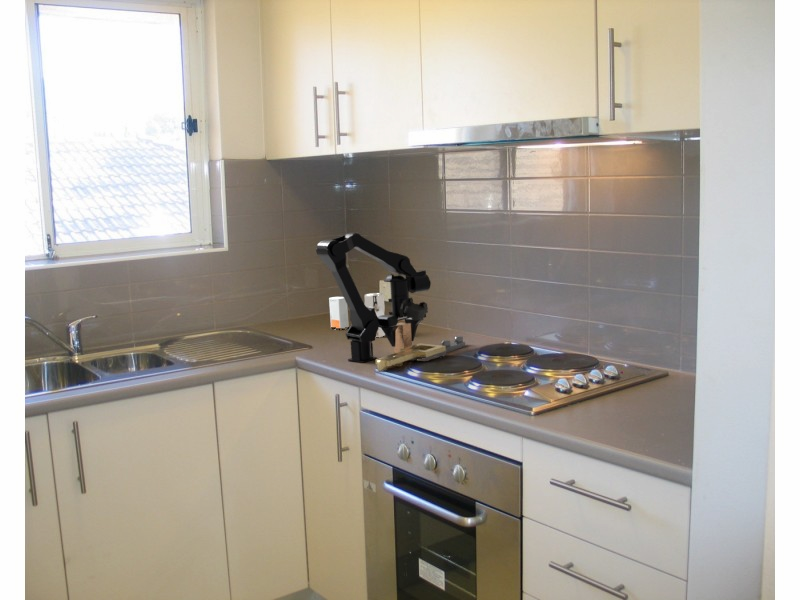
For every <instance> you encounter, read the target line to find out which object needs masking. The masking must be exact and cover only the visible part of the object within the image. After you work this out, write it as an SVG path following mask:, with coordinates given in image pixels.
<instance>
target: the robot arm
mask: <svg viewBox="0 0 800 600" xmlns="http://www.w3.org/2000/svg"><path fill="white" fill-rule="evenodd" d="M353 249H355V250H357V251H358V252H359V253H360V252H361V253H362V254H364V255H366V256H367V257H370V258H371V259H372V260H373V259H374V260H375V261H377V262H378V263H380V265H381V267H383V268H384V269H385V270H386V271H387V272H389V274H387V276H386V277H385V278H384V279H383V281H384V282H385V283H389V287H390V298H388V303H390V304H391V311H389V312H388V313H389V314H384V315H382V316H378V317H377V315H376V312H375V310H374V308H369V307H366V306H365V301H363V299H362V296H361V294H360V291H359V289H358V287H357V285H356V283H355V281H354V280H353V277H352V275H351V272H350V271H349V268H348V266H347V253H348V252H350V251H352V250H353ZM315 252H316V255H317V257H318V258H319V259H320V261H321V262H322V264H324V266H326V267H327V268H328V269H329V270H330V272H331V273H332V275H333V277H334V280H335V282H336V284H337V285H338V288H339V290H340V292H341V295H342V297H344V299H345V301H346V303H347V308H348V309H349V311H350V312H349V314H350V315H349V320H350V324H351V325H350V326H349V329H347V331H346V332H345V337H346V339H347V340H350V352H351V354H350V355H351V357H350V358H348V359H347V361H348V362H354V363H355V362H356V363H366V362H367V363H368V362H370V361H372V360H375V359H378V358H377V356H374V345H373V342H374V341H376V339H377V338H376V334H377V331H378V328H381V329H382V330H383V332H384V333H385V337H386V338H387V340H388V342H389V344H390V346H391V347H392V348H394V347H395V343H396V329H397V328H398V326H397V323H399V321H403V320H404V323H411V339H412V342H414V340H415V337H416V333H417V329H418V326H419V324H421V323H422V321H424V319H425V318H427V314H428V313H429V309H428V303H427V302H425V301H422V302H419V303H414V299H413V297H410V294H416V293H423V292H427V291H429V290H430V289H431V284H432V282H431V280H430V277H429V275H427V272H426V270H424V269H421V270H416V269H415V268H414V266H413V265H412V263H411V259H410V258H409V257H408V256H407V255H404V254H401V253H397V252H393V251H390V250H387V249H385V248H383V247H382V246H380V245H379V244H376V243H375V242H373V241H371V240H369V239H368V238H366V237H364V236H362V235H361V234H360V233H357V232H348V233H346V234H344V235H342V236H338V237H334V238H332V239H322V240H321V241H319V242H318V243H317V246H316V248H315ZM394 274H396V275H394Z"/></svg>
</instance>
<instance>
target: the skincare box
mask: <svg viewBox="0 0 800 600" xmlns="http://www.w3.org/2000/svg"><path fill="white" fill-rule="evenodd" d="M328 300H329V301H328V302H329V303H328V305H329V318H330V319H329V320H330V328H331V327H336V328H345V327H349V328H350V326H349V311H348V309H349V307H348V305H347V303H346V301H345V299H344V296H332V297H329V298H328Z"/></svg>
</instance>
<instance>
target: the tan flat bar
mask: <svg viewBox="0 0 800 600" xmlns="http://www.w3.org/2000/svg"><path fill="white" fill-rule="evenodd" d="M453 339H454V340H450V339H442V340H441V343H440V344H430V343H429V344H428V343H421V342H420V343H417V344H413V345H412V346H409V347H406V348H403V349H399V350H400V352H398V353H393V354H389V355H386V356H382V357H378V358H376V359H374V360H375V365H376V366H377V372H380V371H382V370H387V369H388V367H390V366H393V367H396V366H398V367H402V365H404V362H406V361H412V362H413V361H414V360H417V359H422V358H429V357H434V356H443V355H446V356H447V353H449V352H452V351H455V350H458V349H462V348H465V347H466V341H464V336H463V335H455V336H454V337H453ZM443 357H444V356H443ZM414 362H415V361H414ZM387 371H388V370H387Z"/></svg>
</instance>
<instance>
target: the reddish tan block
mask: <svg viewBox="0 0 800 600" xmlns="http://www.w3.org/2000/svg"><path fill="white" fill-rule="evenodd" d="M397 326H398V328H397V329H396V343H395V347H393V348H394V351H393V352H394V353H393V354H395V353H398V352H400V350H399V349H403V348H406V347H409V346H413V345H412V342H413V341H412V339H411V323H405V322H398V323H397Z"/></svg>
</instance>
